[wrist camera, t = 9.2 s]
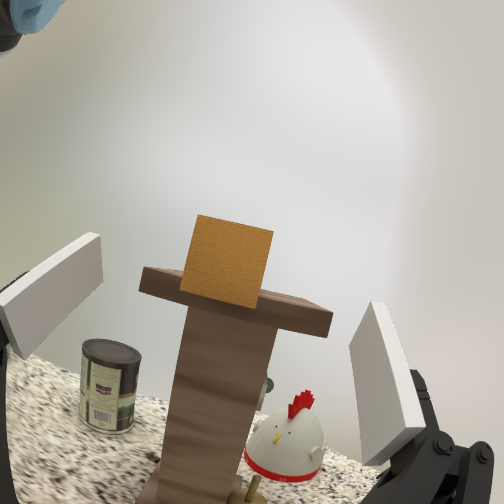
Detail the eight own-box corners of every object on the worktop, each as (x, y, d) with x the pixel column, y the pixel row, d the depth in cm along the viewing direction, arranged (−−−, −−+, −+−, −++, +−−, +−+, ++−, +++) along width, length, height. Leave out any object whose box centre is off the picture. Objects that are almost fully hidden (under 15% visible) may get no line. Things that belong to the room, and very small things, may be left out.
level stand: (261, 549, 18) (357, 317, 21) (119, 512, 19) (143, 266, 21) (262, 482, 33) (319, 302, 35) (155, 455, 34) (189, 271, 36)
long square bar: (255, 309, 12) (273, 231, 12) (179, 289, 12) (198, 214, 13) (259, 288, 36) (265, 262, 36) (233, 282, 36) (239, 256, 36)
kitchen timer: (227, 454, 40) (247, 383, 41) (271, 433, 50) (291, 371, 52) (295, 493, 31) (327, 418, 32) (330, 460, 42) (356, 394, 43)
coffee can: (122, 404, 47) (130, 341, 48) (141, 434, 39) (151, 365, 40) (74, 401, 40) (78, 334, 41) (85, 434, 32) (87, 359, 33)
